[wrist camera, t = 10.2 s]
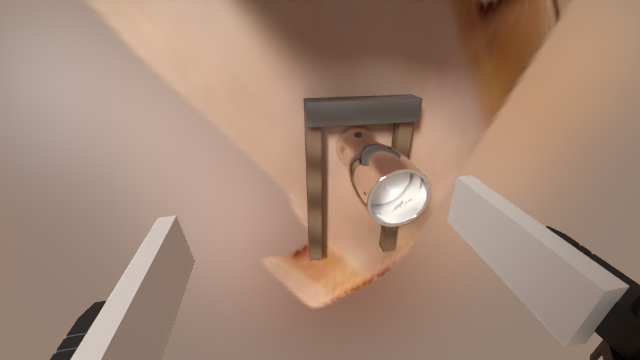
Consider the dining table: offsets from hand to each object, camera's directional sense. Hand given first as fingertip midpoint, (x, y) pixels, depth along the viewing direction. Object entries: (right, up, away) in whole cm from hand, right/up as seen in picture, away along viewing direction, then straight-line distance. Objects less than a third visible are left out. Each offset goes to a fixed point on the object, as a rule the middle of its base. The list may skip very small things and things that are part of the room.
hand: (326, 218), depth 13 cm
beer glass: (+5, +7, +26) cm, 28 cm away
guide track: (+5, +1, +29) cm, 30 cm away
